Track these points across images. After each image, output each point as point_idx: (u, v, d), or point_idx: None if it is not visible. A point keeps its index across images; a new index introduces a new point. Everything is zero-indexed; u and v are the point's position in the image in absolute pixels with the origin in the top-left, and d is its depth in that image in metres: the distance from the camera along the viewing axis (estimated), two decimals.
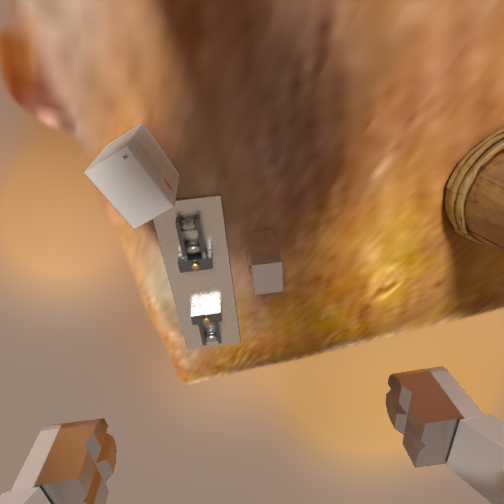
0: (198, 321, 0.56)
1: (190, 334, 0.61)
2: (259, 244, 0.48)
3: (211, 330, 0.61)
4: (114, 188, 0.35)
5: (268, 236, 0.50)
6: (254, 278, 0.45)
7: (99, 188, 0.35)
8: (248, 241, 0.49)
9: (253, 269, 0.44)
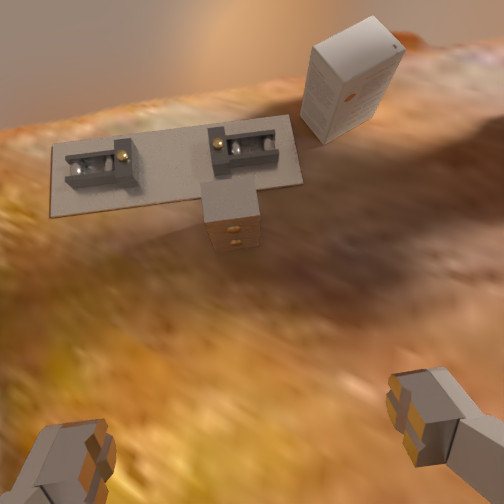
0: (120, 147, 0.39)
1: (84, 148, 0.42)
2: None
3: None
4: (360, 34, 0.34)
5: None
6: (231, 180, 0.31)
7: (358, 23, 0.35)
8: None
9: (247, 177, 0.31)
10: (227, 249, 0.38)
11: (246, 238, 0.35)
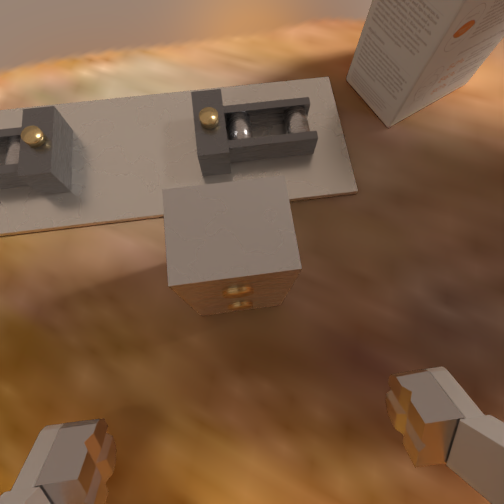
0: (32, 121, 0.22)
1: None
2: None
3: None
4: None
5: None
6: (233, 185, 0.14)
7: None
8: None
9: (269, 180, 0.14)
10: (223, 311, 0.21)
11: (260, 299, 0.18)
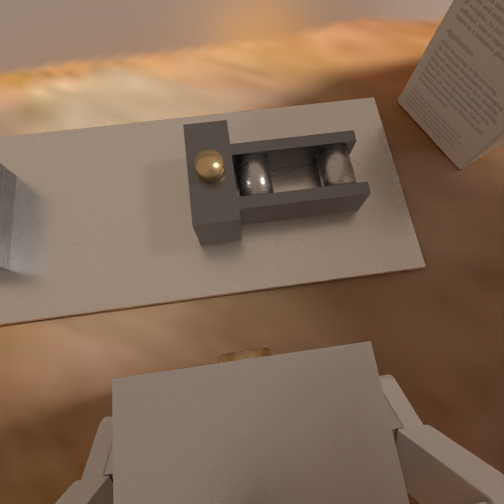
0: None
1: None
2: None
3: None
4: None
5: None
6: (264, 367, 0.06)
7: None
8: None
9: (341, 354, 0.06)
10: None
11: None
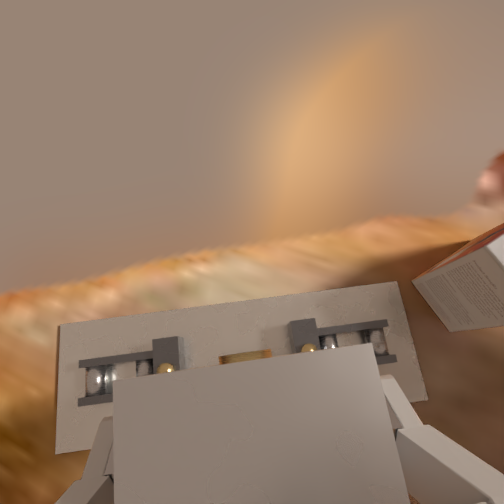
0: (161, 352, 0.26)
1: (105, 332, 0.29)
2: None
3: (109, 379, 0.28)
4: None
5: None
6: (265, 368, 0.06)
7: None
8: None
9: (342, 356, 0.06)
10: None
11: None
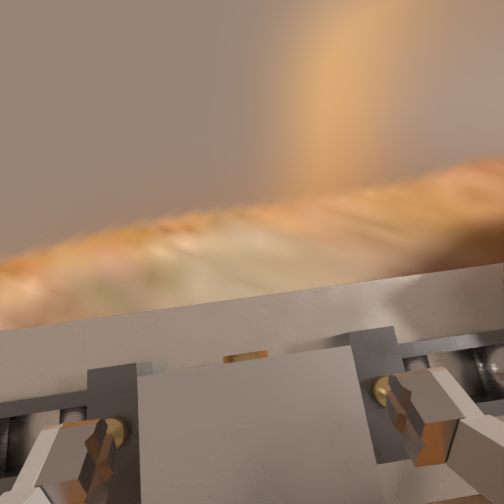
0: (104, 395, 0.14)
1: (14, 354, 0.16)
2: None
3: (15, 441, 0.15)
4: None
5: None
6: (262, 367, 0.08)
7: None
8: None
9: (325, 356, 0.08)
10: None
11: None
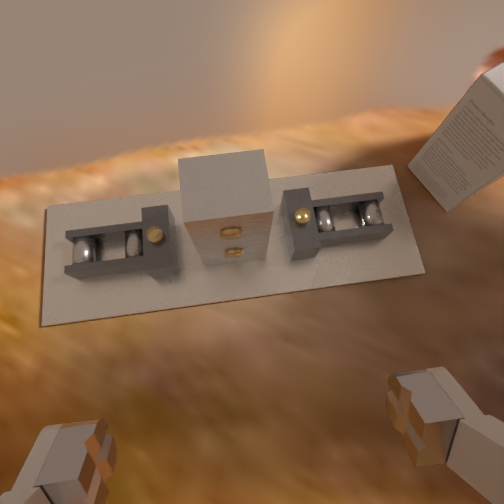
0: (151, 219, 0.25)
1: (94, 213, 0.28)
2: None
3: (97, 256, 0.27)
4: None
5: None
6: (227, 156, 0.20)
7: None
8: None
9: (253, 152, 0.20)
10: (221, 262, 0.26)
11: (249, 247, 0.24)
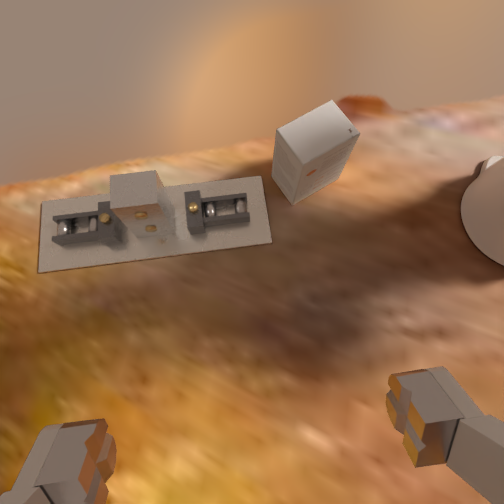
0: (103, 209, 0.43)
1: (71, 206, 0.45)
2: (167, 203, 0.41)
3: (72, 232, 0.44)
4: (319, 118, 0.38)
5: (171, 221, 0.42)
6: (136, 174, 0.37)
7: (318, 108, 0.38)
8: (168, 197, 0.43)
9: (150, 172, 0.37)
10: (147, 235, 0.44)
11: (158, 224, 0.41)
